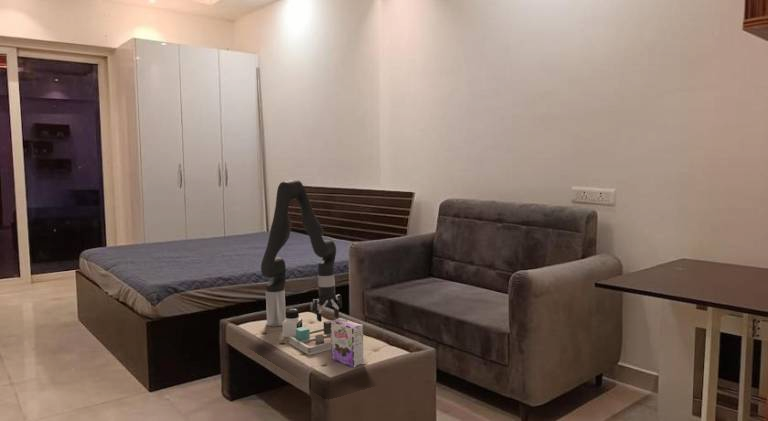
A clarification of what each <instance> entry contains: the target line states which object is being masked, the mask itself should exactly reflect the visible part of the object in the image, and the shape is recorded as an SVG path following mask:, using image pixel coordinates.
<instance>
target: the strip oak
mask: <svg viewBox="0 0 768 421" xmlns="http://www.w3.org/2000/svg"><path fill="white" fill-rule="evenodd" d="M331 321H332V320H326V321H323V328H324V331H322V332H317V333H313V334H310V339H311V338H315V336H316V335H319V334H321V335H327V334H331ZM295 339H296V338H295ZM297 340H298V339H297ZM299 341H300V340H299Z"/></svg>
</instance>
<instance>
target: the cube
mask: <svg viewBox="0 0 768 421" xmlns="http://www.w3.org/2000/svg"><path fill="white" fill-rule="evenodd" d="M310 331H311V330H310V328H308V327H306V326H302V327H300V328H296V339H298V340H300V341H302V340H306V339H310Z"/></svg>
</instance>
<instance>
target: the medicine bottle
mask: <svg viewBox="0 0 768 421" xmlns="http://www.w3.org/2000/svg"><path fill="white" fill-rule="evenodd" d="M285 311H286V312H285V315H286V320H285V321H284V322H283V323H282V337H283V338H289V336H291V335H295V334H296V328H300V327H303V318H300V316H299V309H296V308H289V309H287V310H285Z"/></svg>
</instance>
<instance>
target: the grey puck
mask: <svg viewBox="0 0 768 421" xmlns="http://www.w3.org/2000/svg"><path fill="white" fill-rule="evenodd" d="M315 342H316V344H322V343H324V335H321V334H319V335H316V336H315Z"/></svg>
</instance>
